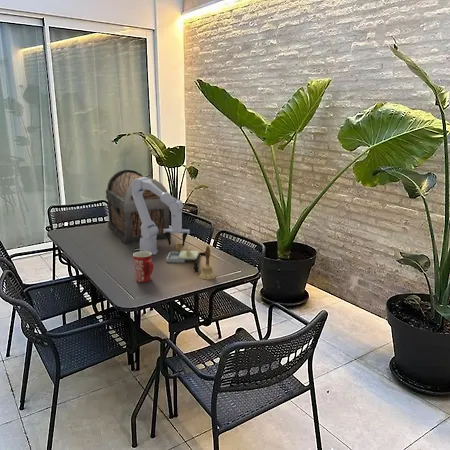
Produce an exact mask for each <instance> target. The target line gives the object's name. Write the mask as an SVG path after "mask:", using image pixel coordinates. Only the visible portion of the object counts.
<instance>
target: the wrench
mask: <svg viewBox="0 0 450 450" xmlns="http://www.w3.org/2000/svg"><path fill="white" fill-rule="evenodd" d="M200 255H201V256H205V251H204V252H198V256H197V259H196V260H195V262H194V261H193V270H194V273H196V272H197V273H198V272H199V261H200V257H201V256H200ZM205 257H206V256H205Z"/></svg>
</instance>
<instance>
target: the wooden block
mask: <svg viewBox="0 0 450 450" xmlns="http://www.w3.org/2000/svg"><path fill="white" fill-rule="evenodd" d="M182 244H183V241H176V245H175V248H176V249H175V250H176V251H175V252H181V251H184V246H182Z"/></svg>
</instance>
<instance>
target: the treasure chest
mask: <svg viewBox="0 0 450 450" xmlns="http://www.w3.org/2000/svg"><path fill="white" fill-rule="evenodd" d="M142 177H144V176H143V174H141V173H139V172H138V171H136V170H132V169H122V170H119V171H118V172H115V174H113V175H112V176H111V177H110V178H109V180H108V183H107V188H106V189H105V195H106V196H105V199H106V200H107V207H108V208H107V209H108V222H107V228H108V229H109V228H110V229H111V230H112V231H113V232H112V233H114V235H116V236H117V237H118V238H119V240H120V241H121V242H123V244H124V245H125V244H126V245H127V244H128V245H131V244H138V243H139V244H140V238H143V237H142V235H141V225H142V222H141V219H140V216H139V213H138V210H137V208H136V205H135V202H134V199H133V196H132V187H131V183H132V181H133V180H134V179H137V178H142ZM147 178H148V179H150V180H151V181H152V183H153V184H155V185H156V186H157V187H158V188H159V189H160V190H161V191H163V192H164V193H165V192H167V193H169V192H168V190H167V189H166V187H165V186H164V185H163V183H161V182H160V181H158V180H157V179H154V178H149V177H147ZM142 195H143V198H144V201H145V204H146V207H147V210H148V213H149V215H150V218H151V220H152V221H153V222H154V223H155V225H156V226H157V227H158V230H159V231H158V234H157V237H156V241H161V240H167V238H166V236H165V233H163V230H164V229H170V209H169V207H168V206H167V205H166V204H165V203H163V202H162V201H161V200H160V197H159V196H157V195H156V194H154V193H153V192H151V191H150V190H144V192H143V194H142ZM110 229H109V230H110ZM111 230H110V231H111Z"/></svg>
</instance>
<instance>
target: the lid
mask: <svg viewBox="0 0 450 450" xmlns="http://www.w3.org/2000/svg"><path fill="white" fill-rule="evenodd" d="M198 255H199V250H191V246H188V247H187V249H186V250H183V251H181V252H180V254H179V257H178V259H194V260H195V261H196V259H197V257H198Z"/></svg>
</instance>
